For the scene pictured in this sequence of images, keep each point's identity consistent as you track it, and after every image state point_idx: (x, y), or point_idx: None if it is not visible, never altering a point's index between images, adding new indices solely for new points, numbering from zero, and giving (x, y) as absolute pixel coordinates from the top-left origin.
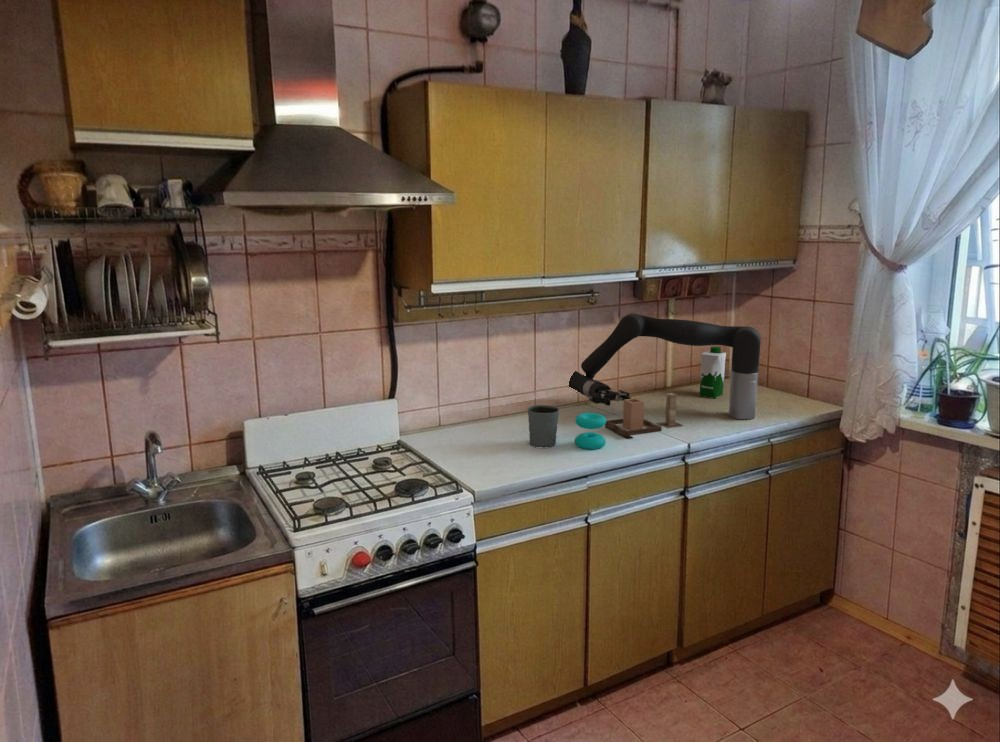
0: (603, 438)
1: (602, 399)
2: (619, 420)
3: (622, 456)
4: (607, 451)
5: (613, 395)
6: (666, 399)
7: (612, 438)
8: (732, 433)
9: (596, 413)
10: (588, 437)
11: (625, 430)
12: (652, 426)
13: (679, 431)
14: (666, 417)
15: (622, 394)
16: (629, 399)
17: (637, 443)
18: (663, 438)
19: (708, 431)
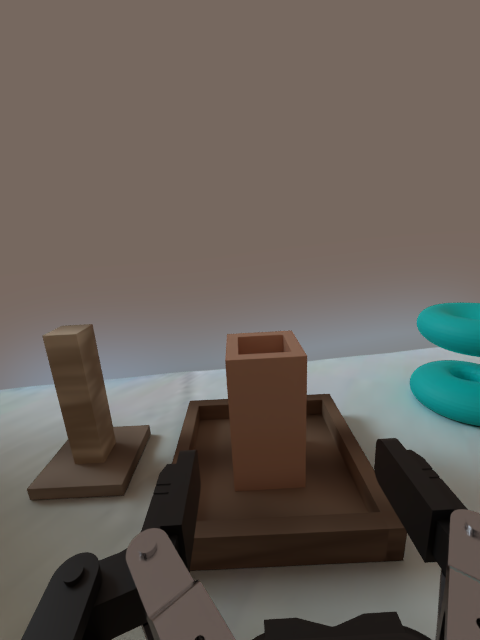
0: (418, 368)
1: (461, 504)
2: (305, 518)
3: (369, 355)
4: (404, 372)
5: (284, 629)
6: (81, 361)
7: (377, 427)
8: (36, 387)
9: (460, 319)
10: (471, 363)
11: (328, 403)
12: (195, 432)
13: (122, 423)
14: (101, 432)
15: (176, 551)
16: (273, 353)
17: (308, 389)
18: (217, 397)
19: (58, 406)
